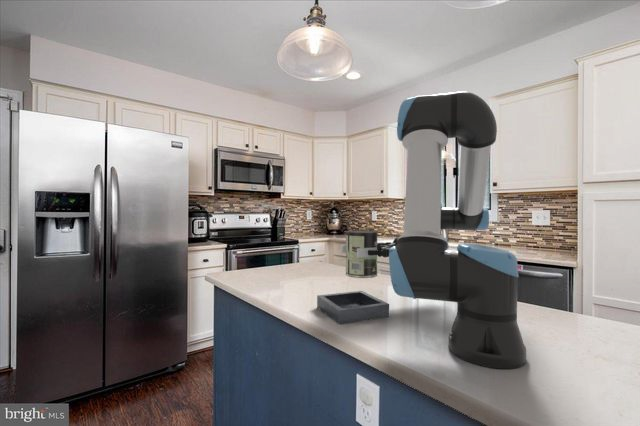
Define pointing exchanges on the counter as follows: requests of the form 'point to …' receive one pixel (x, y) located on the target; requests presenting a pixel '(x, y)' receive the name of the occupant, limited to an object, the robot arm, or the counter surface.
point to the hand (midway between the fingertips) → (349, 250)
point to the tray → (352, 307)
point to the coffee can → (362, 265)
